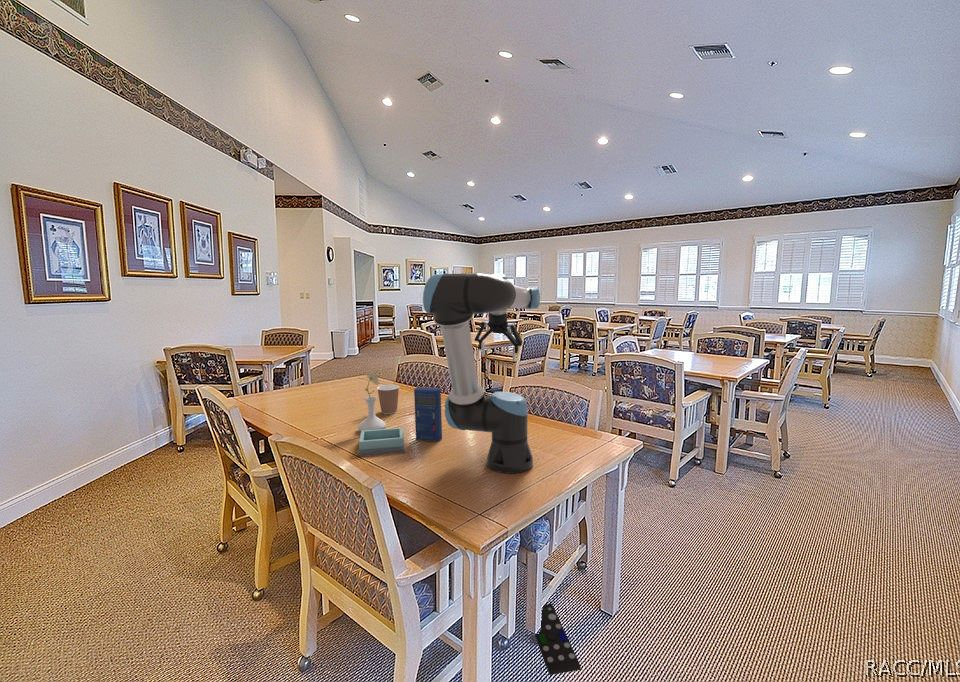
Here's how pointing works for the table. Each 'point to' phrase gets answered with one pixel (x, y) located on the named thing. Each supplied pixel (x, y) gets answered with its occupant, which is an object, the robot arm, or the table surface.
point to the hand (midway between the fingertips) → (498, 357)
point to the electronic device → (428, 414)
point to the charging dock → (381, 442)
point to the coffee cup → (388, 398)
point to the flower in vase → (371, 408)
